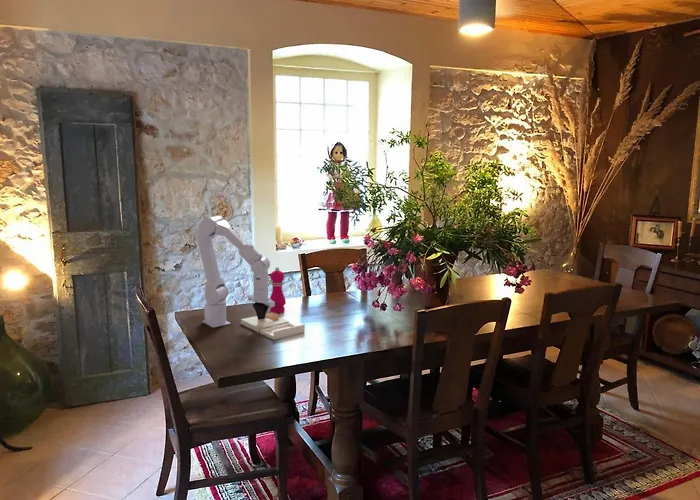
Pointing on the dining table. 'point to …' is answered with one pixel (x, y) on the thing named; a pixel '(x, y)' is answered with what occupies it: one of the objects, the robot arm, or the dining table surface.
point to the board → (253, 325)
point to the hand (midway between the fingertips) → (261, 320)
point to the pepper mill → (277, 291)
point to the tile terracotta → (272, 316)
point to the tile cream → (265, 322)
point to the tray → (283, 331)
